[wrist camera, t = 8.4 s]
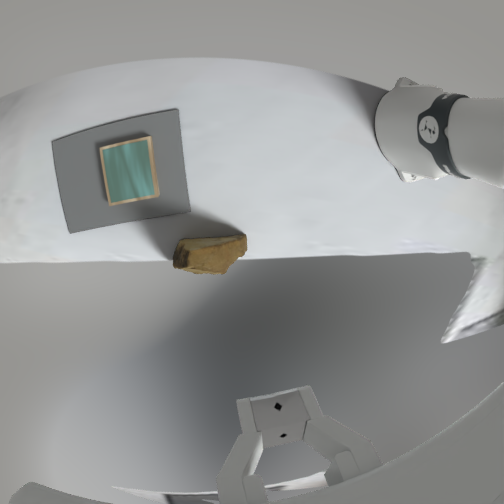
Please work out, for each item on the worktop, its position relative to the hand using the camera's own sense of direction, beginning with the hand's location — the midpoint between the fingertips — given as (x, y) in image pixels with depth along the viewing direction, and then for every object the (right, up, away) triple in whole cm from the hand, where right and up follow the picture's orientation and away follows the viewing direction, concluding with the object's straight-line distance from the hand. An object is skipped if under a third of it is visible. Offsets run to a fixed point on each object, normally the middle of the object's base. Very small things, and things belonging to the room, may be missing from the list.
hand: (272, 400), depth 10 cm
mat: (-19, +17, +22) cm, 34 cm away
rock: (-7, +7, +30) cm, 31 cm away
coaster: (-13, +17, +22) cm, 31 cm away
